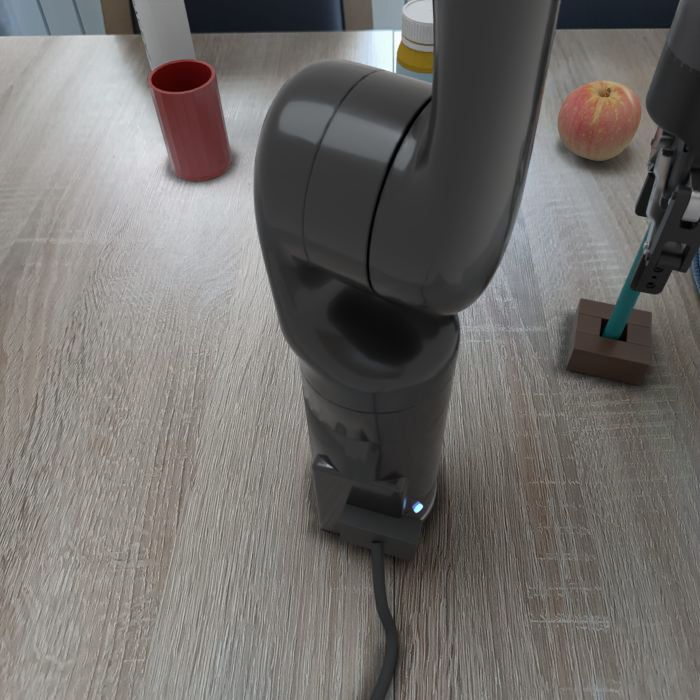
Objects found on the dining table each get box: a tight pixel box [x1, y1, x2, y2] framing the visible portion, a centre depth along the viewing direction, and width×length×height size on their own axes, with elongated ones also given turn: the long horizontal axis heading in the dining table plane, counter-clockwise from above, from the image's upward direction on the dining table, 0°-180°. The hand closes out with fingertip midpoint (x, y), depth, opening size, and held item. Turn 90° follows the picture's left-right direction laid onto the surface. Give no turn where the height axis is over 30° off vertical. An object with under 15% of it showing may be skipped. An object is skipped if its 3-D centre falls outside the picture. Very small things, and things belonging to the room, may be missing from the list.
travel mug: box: [131, 0, 197, 72], centre depth 84 cm, size 6×7×20 cm
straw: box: [602, 221, 651, 340], centre depth 53 cm, size 1×1×15 cm
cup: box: [147, 59, 233, 182], centre depth 74 cm, size 7×7×11 cm
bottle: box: [395, 0, 434, 83], centre depth 76 cm, size 7×7×15 cm
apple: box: [557, 80, 642, 162], centre depth 75 cm, size 9×9×8 cm
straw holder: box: [565, 297, 653, 386], centre depth 58 cm, size 6×6×3 cm
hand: (645, 250), depth 50 cm, fingers open, 8 cm apart
